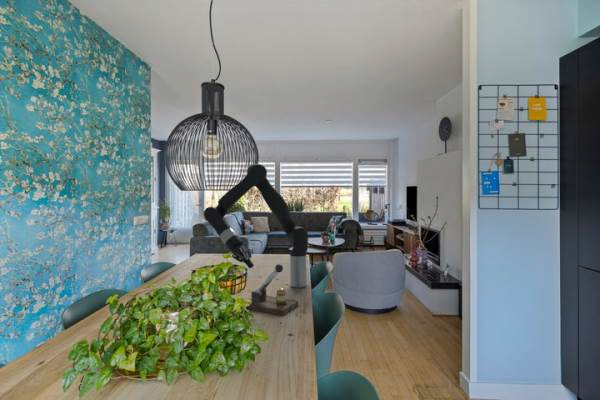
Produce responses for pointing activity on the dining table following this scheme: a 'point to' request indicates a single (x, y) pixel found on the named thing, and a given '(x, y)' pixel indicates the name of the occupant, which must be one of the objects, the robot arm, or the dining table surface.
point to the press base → (270, 304)
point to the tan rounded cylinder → (281, 297)
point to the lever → (270, 278)
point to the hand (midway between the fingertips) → (251, 267)
